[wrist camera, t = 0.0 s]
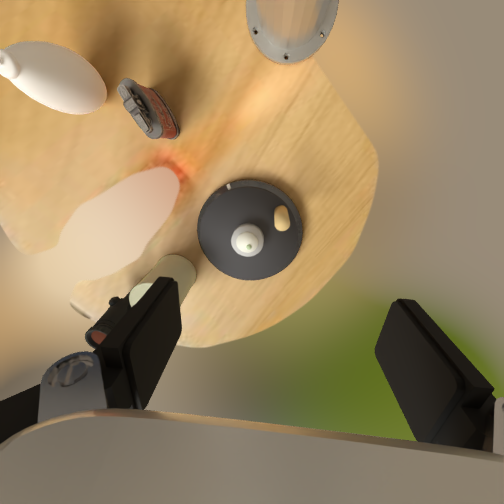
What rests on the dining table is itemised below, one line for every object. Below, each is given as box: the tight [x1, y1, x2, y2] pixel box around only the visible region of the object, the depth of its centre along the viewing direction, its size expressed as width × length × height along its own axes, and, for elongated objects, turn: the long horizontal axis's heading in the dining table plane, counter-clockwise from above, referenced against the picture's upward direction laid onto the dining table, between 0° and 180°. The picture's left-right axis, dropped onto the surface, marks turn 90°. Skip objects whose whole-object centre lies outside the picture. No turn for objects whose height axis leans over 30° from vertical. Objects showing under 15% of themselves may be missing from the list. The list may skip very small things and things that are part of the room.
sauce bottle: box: [0, 41, 107, 114], centre depth 32 cm, size 8×8×18 cm
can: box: [129, 254, 196, 307], centre depth 48 cm, size 9×9×12 cm
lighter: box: [117, 78, 180, 139], centre depth 36 cm, size 8×3×10 cm, turn 28°
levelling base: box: [197, 180, 303, 278], centre depth 48 cm, size 21×21×1 cm
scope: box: [85, 292, 131, 349], centre depth 52 cm, size 8×14×10 cm
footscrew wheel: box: [200, 186, 298, 280], centre depth 43 cm, size 19×19×8 cm
